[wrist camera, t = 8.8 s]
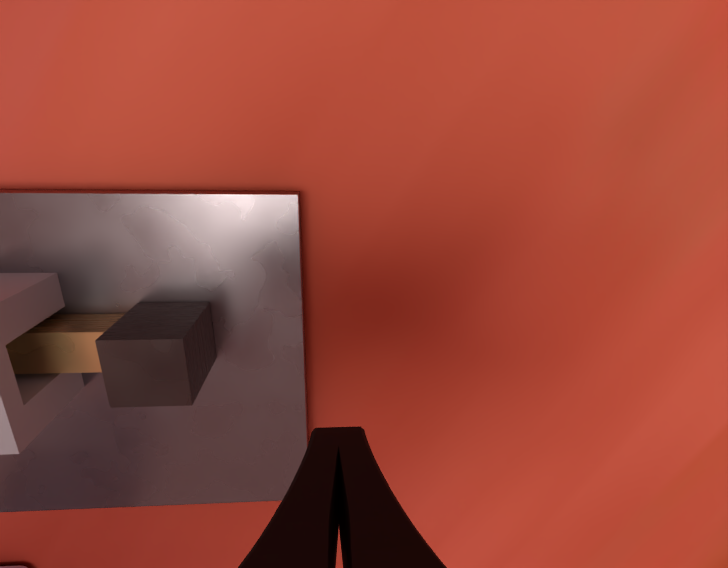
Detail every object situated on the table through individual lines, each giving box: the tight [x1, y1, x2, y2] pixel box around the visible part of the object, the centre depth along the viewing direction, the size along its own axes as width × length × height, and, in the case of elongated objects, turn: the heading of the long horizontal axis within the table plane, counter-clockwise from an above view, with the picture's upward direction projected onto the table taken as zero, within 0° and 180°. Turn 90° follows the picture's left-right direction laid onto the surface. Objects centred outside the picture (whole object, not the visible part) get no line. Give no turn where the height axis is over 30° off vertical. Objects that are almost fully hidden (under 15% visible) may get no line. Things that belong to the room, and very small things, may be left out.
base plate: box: [0, 189, 308, 512], centre depth 19 cm, size 16×26×1 cm, turn 89°
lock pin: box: [6, 302, 216, 408], centre depth 17 cm, size 3×11×4 cm, turn 89°
